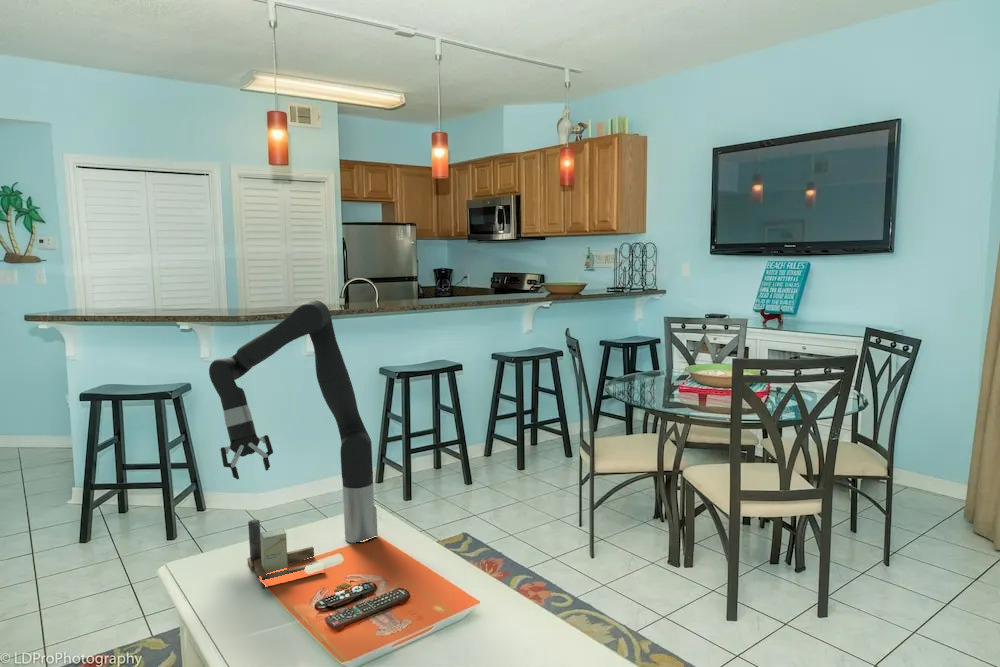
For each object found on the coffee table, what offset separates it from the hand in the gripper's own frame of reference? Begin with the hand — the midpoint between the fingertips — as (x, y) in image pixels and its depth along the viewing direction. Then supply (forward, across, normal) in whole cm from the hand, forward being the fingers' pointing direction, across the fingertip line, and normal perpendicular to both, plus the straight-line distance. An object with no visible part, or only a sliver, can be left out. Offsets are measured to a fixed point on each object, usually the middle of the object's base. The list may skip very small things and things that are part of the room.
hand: (252, 474), depth 195 cm
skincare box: (+27, -2, -18) cm, 33 cm away
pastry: (+34, +10, -40) cm, 54 cm away
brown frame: (+26, +1, -16) cm, 31 cm away
